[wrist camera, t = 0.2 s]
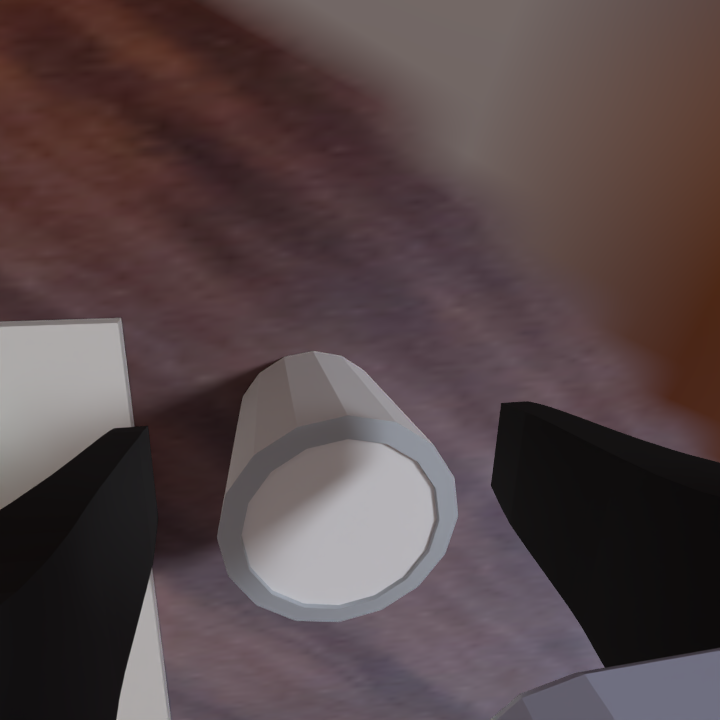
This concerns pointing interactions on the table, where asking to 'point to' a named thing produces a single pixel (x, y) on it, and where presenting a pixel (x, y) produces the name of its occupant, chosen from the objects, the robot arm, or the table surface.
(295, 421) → the white tumbler
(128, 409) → the blueprint baseplate
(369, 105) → the table surface
